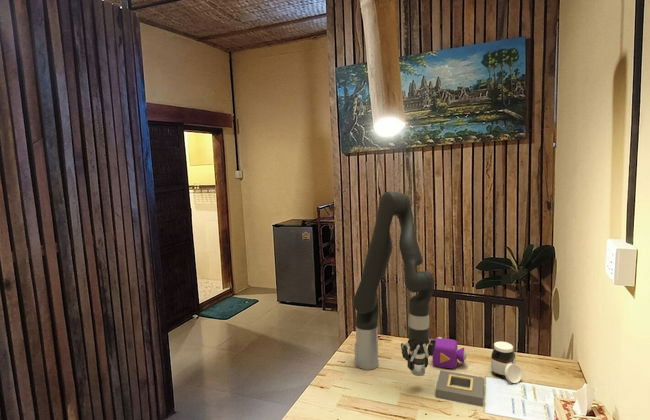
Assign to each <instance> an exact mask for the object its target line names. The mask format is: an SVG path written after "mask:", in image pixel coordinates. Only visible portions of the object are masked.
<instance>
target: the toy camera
mask: <svg viewBox="0 0 650 420" xmlns="http://www.w3.org/2000/svg"><path fill="white" fill-rule="evenodd" d="M434 340H435V341H436V343H435V348H434V353H433V356H432V364H433V366H434V367H439V368H444V369H452V370H453V369H455V368H456V367H457V365H458V364H457V363H458V361H459V362H461V364H464V363H465V360H466V359H467V355H468V354H467V352H466V351H465V347H464V346H463V347H462V348H461V347H460V348H459V349H458V341H457V340H455V339H452V338H451V339H450V338H443V337H441V336H438V337H436V338H435V339H434Z"/></svg>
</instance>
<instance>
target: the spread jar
mask: <svg viewBox="0 0 650 420" xmlns="http://www.w3.org/2000/svg"><path fill="white" fill-rule="evenodd" d="M490 356H491V357H490V370H491V372H492V373H493V374H494V375H495V376H497V377H501V378H504V379H506V380H507V381H508V382H509V383H512V384H518V383H519V382H520V381H521V380H522V375H523V374H522V369H521V367H520V366H519V365H518V364H516V352H515V351H514V346H513V344H511V343H509V342H507V341H496V342H494V343H493V350H492V352H491V355H490Z"/></svg>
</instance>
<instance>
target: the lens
mask: <svg viewBox="0 0 650 420" xmlns="http://www.w3.org/2000/svg"><path fill="white" fill-rule="evenodd" d="M412 352H414V351H413V350H412ZM425 358H426V356H425V352H424V351H422V352H421V351H420V352H417V354H416V356H414V359H413V370H412V371H411V370H410V373H411V374H412V375H414V376H416V377H422V376H424V375H425V374H426V368H425Z"/></svg>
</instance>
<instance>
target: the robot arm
mask: <svg viewBox="0 0 650 420" xmlns="http://www.w3.org/2000/svg"><path fill="white" fill-rule="evenodd" d="M411 204H412V203H411V200H410V198H409V196H408V195H407V194H406V193H403V192H397V191H385V192H384V193H383V194H382V196H381V198H380V200H379V203H378V208H377V214H376V219H375V224H374V228H373V232H372V234H371V235H372V237H371V238H370V242H369V245H368V249H367V252H366V256H365V261H364V265H363V269H362V273H361V274H362V275H361V279H360V281H359V285H358V287H357V289H356V292H355V294H354V296H353V299H352V303H353V307H354V309H355V310H356V317H355V343H354V366H355V367H357V368H359V369H362V370H365V371H369V370H374V369H377V368H378V367H379V328H378V327H379V326H378V322H379V295H378V288H379V284H380V282H381V280H382V278H383V276H384V274H385V272H386V269H387V267H388V264H389V263H390V262H389V261H390V258H391V255H392V251H393V243H392V242H393V241H392V238H391V232H390V231H391V224H392V221H393V218H394V217H395V216H396V217H397V219H398V221H399V225H400V235H399V242H398V244H399V251H400V254H401V258H402V261H403V270H404V271H403V272H404V280H403V281H404V286H405V287H406V289H407V291H408V292H411V293H417V294H415V295H413V296H412V297H410V298H409V306H408V307H409V308H408V310H409V313H408V318H407V319H408V320H407V321H408V323H407V324H408V328H407V329H408V330H407V336H408V341H407V342H405V343H403V342H402V343H400V349H401V355H402V358H403V359H405V361H406V362H407V368H408V369H409V370H410V372H411V371H412V370H413V359H414V356H416V354H417V352H420V351H421V352H422V351H424V352H425V356H426V358H425V369H426V368H427V367H429V358H430V357H433V353H434V348H435V343H436V341H435V339H433V338H432V337H430V314H429V313H430V301H431V300H432V299H431V298H432V296H433V291H434V288H435V278H434V275H433V274H432V273H431V272H430V271H427V270H422V271H417V272H416V267H418V266H420V265H422V264H423V262H424V261H423V256H422V253H421V249H420V247H419V243H418V240H417V236H416V230H415V224H414V223H415V222H414V218H413V211H412V210H413V209H412V205H411ZM412 350H413V351H414V352H412Z"/></svg>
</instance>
